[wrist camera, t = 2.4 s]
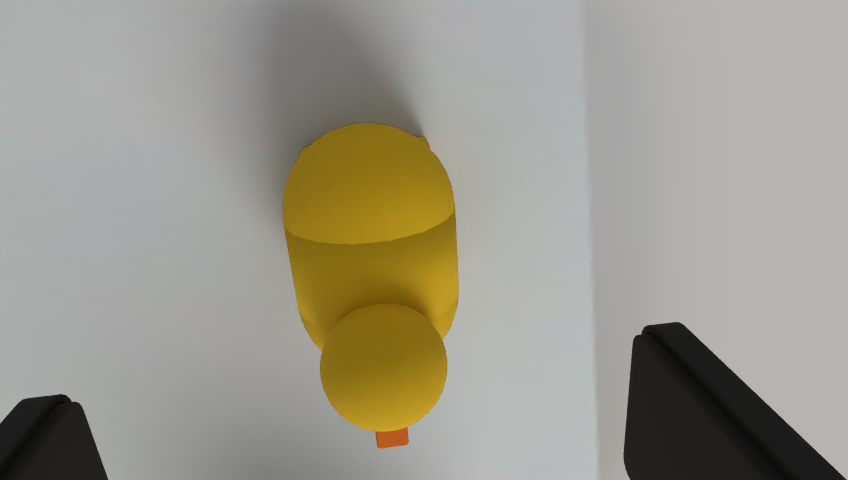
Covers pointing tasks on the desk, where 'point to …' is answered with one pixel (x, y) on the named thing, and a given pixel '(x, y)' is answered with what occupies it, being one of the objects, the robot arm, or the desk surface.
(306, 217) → the duck
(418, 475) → the desk surface
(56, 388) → the desk surface
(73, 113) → the desk surface
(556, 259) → the desk surface
